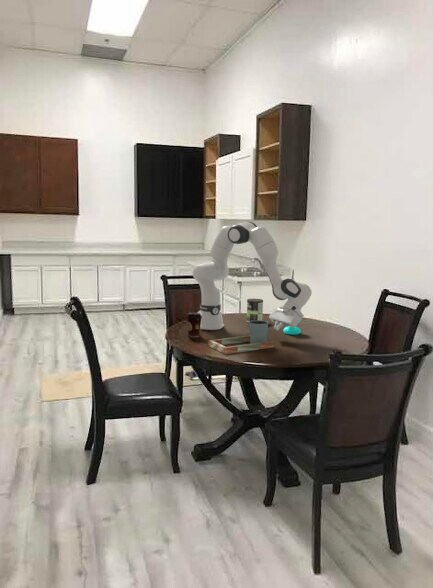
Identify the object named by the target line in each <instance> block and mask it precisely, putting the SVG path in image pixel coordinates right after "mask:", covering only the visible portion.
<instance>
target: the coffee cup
mask: <svg viewBox="0 0 433 588" xmlns="http://www.w3.org/2000/svg"><path fill="white" fill-rule="evenodd" d="M185 317H186V319H187V320H186V325H187V333H188V334H187V335H188V337H190V338H200V336H201V335H200V333H201V329H200V325H201V318H202V316H201V314H200V313H198V312H193V311H192V312H188V313H187V314H186V316H185Z"/></svg>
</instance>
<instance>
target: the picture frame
mask: <svg viewBox="0 0 433 588" xmlns="http://www.w3.org/2000/svg"><path fill="white" fill-rule="evenodd" d="M247 342H249V343H247ZM241 343H247V344H241ZM232 344H239V345H232ZM207 345H208V347H210V348H211V349H213V350H216V351H218V352H220V353H223V354H224V355H230V354H236V353H237V354H238V353H243V352H251V351H256V350H257V351H258V350H263V349H264V350H265V349H271V348H274V347H275V341H274V340H270V341H268V340H267V342H260V343H253V344H250V334H249V335H243V336H241V335H239V336H233V337H226V338H225V337H224V338H218V339H217V338H216V339H210V340H208V344H207ZM225 345H232V346H225Z"/></svg>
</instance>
